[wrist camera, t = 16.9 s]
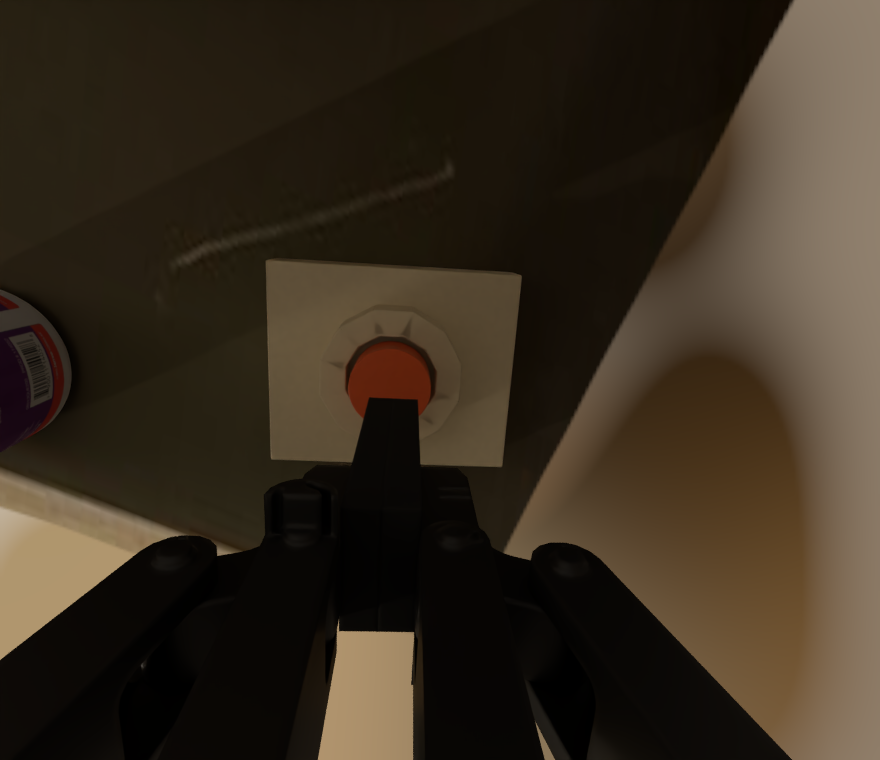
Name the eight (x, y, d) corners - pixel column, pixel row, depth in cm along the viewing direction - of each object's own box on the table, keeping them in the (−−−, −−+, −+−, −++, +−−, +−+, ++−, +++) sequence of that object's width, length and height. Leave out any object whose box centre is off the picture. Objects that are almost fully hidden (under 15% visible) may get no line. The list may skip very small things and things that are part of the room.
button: (431, 342, 24) (433, 350, 22) (427, 416, 25) (428, 429, 23) (352, 338, 23) (348, 346, 22) (351, 413, 24) (347, 426, 23)
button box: (513, 272, 26) (531, 278, 23) (495, 450, 29) (508, 483, 25) (276, 257, 26) (253, 261, 22) (280, 443, 28) (260, 476, 24)
